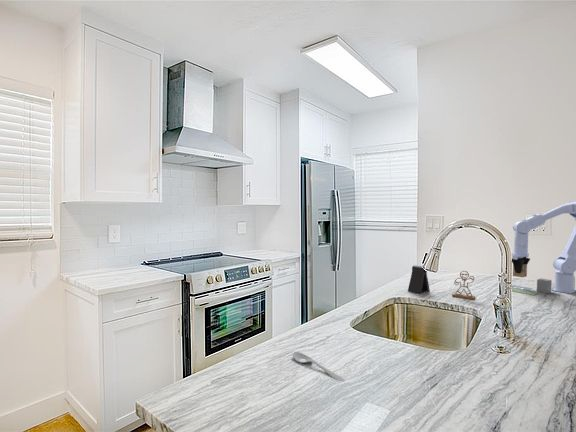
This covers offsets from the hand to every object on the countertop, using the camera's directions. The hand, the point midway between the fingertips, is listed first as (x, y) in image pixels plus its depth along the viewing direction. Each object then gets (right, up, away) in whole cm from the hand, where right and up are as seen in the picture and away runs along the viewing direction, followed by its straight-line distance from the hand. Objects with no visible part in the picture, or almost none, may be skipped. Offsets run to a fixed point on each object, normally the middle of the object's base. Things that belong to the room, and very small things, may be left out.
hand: (520, 272), depth 179 cm
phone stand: (-54, -8, -9) cm, 55 cm away
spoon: (-108, -11, -90) cm, 141 cm away
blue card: (0, -8, 0) cm, 8 cm away
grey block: (+7, -8, -7) cm, 13 cm away
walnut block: (0, -2, 0) cm, 2 cm away
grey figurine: (-38, -8, -19) cm, 43 cm away
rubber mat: (-4, -8, -8) cm, 12 cm away
